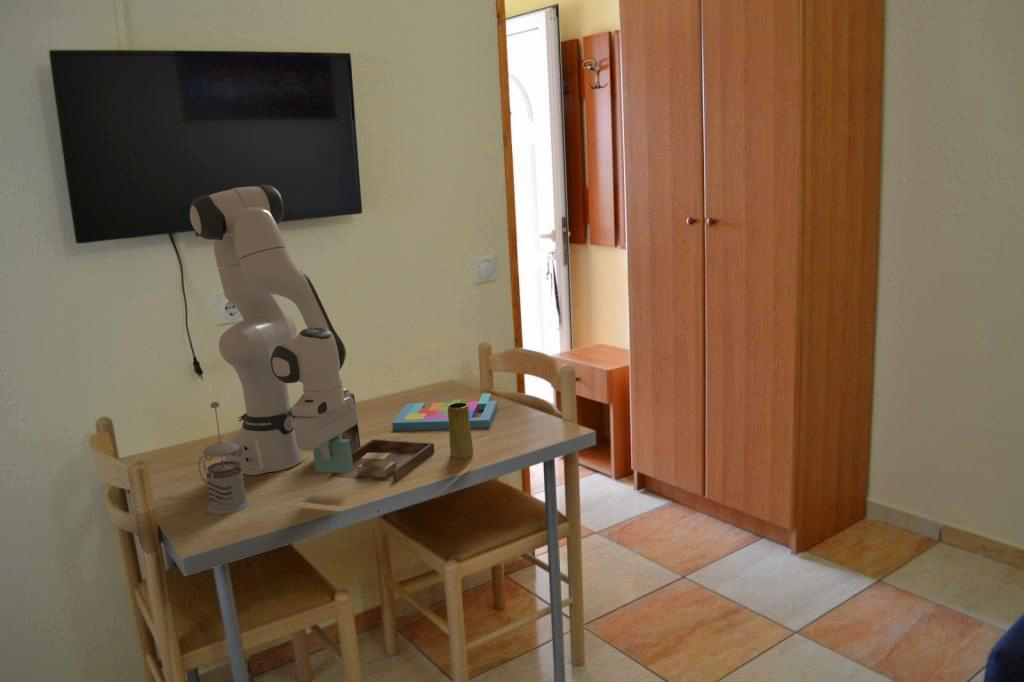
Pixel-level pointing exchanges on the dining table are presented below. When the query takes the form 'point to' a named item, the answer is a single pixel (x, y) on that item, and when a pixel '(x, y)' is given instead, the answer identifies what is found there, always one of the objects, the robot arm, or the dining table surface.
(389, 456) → the offcut top
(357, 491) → the dining table surface
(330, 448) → the teal rectangular block
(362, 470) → the offcut low
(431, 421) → the tetris game
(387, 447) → the brown wooden tray
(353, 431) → the coffee box
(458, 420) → the vase
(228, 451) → the french press
